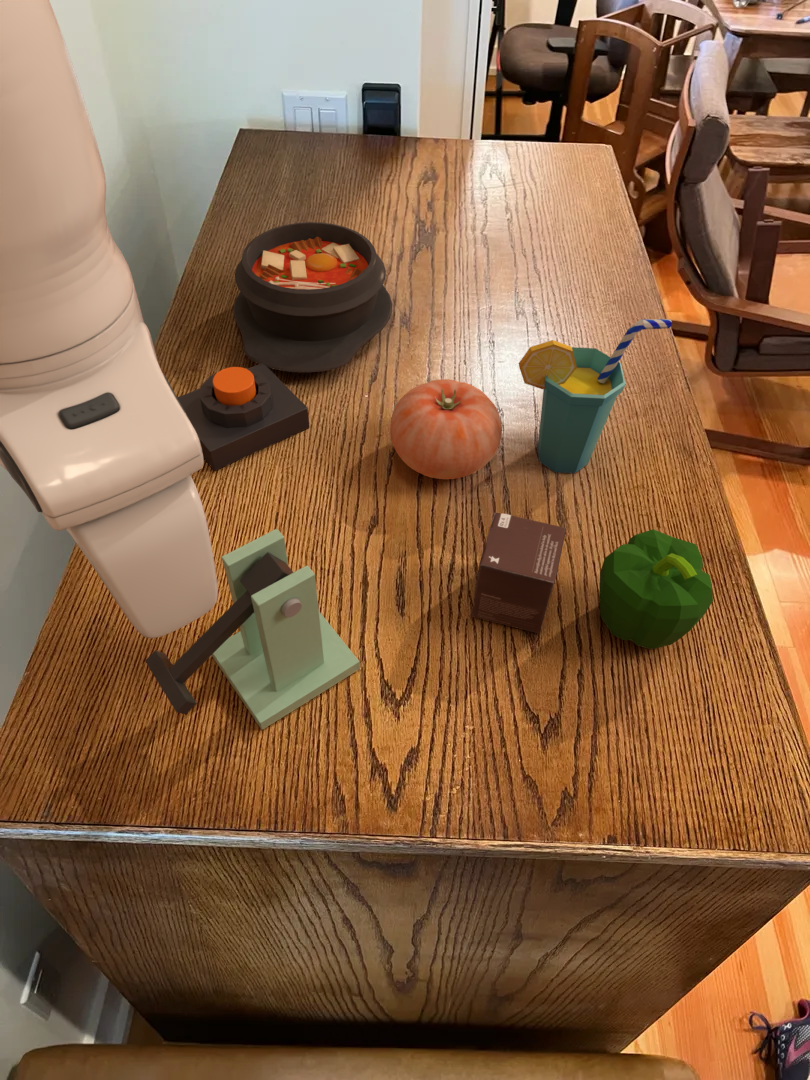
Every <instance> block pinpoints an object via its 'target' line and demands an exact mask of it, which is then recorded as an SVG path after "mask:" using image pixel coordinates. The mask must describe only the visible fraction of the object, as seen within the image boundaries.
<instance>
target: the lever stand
mask: <svg viewBox="0 0 810 1080" xmlns="http://www.w3.org/2000/svg"><path fill="white" fill-rule="evenodd" d="M285 541H286V540H285V536H284V535H283V534H282V532H281V531H280V530H279V529H278V528H275V529H273V530H271V531H269V532H267V533H265V534H263V535H261V536H259V537H257V538H255V539H253V540H251V541H250V542H248V543H246V544H244V545H241V546H239V547H237V548H236V549H234V550H232V551H230V552H227V553H226V554H224V555H221V561H222V565H223V569H224V573H225V577H226V580H227V585H228V588H229V592H230V596H231V601H232V605H233V604H234V603H235V602H236V601H237V600H238V599H239V598H240V597H241V596H242V595H243V594H244V593H245V592H246V591H247V589H246V588H245V587H244V585H243V584H242V583H241V581H240V579H241V578H242V577H243V576H244V575H245V574H246V573H247V572H248V571H249V570H250V569H251V568H252V567H253V566H254V565H255V564H256V563H257V562H258V561H259V560H260V559H261V558H262V557H263V556H264V555H265V554H266V553H267V552H269V553H271V554H272V555H274V556H276V557H277V558H279V559H281V560H282V561H284V562H286V564H287V565H288V566H289V562H288V561H289V560H288V553H287V548H286V542H285ZM293 572H294V573H292V574H290V575H288V576H286V577H285V578H283V579H281V580H279V581H277V582H275V583H273V584H272V585H270V586H268V587H266V588H264V589H262V590H261V591H259V592H257V593H255V594H253V595H251V599H252V604H253V608H254V613H253V614H252V615H251V616H250V617H249V618H248V619H247V620H246V621H245V622H244V623H243V624H242V625H241V626H240V627H239V628H238V629H239V631H238V632H236V633H234V634H232V635H231V636H230V637H229V638H228V639H227V640H226V641H225V642H224V643H223V644H222V645H221V646H220V647H219V648H218V649H217V650H216V651H215V652H214V653H213V654H212V655H211V657H212V658H213V660H214V661H215V664H216V665H217V666H218V668H219V669H220V671H221V672H222V673H223V675H224V677H225V678H226V680H227V681H228V682H229V684H230V685H231V687H232V688H233V690H234V692H235V693H236V694H237V696H238V697H239V698H240V700H241V701H242V703H243V705H244V706H245V708H246V709H247V710H248V712H249V714H250V715H251V716H252V718H253V720H254V721H255V722H256V723H257V725H258V727H259V729H260V730H261V731H264V730H265V729H267V728H268V727H269V726H272V725H273V724H274V723H276V722H278V721H279V720H281V719H282V718H284V717H286V716H287V715H289V714H291V713H292V712H294V711H295V710H297V709H298V708H300V707H302V706H303V705H305V704H306V703H308V702H309V701H311V700H313V699H314V698H316V697H318V696H319V695H320V694H322V693H324V692H326V691H327V690H329V689H330V688H332V687H333V686H335V685H336V684H338V683H340V682H341V681H343V680H345V679H346V678H348V677H350V676H352V675H353V674H354V673H356V672H358V671H359V670H361V663H360V660H359V659H358V658H357V657H356V655H355V654H354V653H353V651H352V650H351V649H350V648H349V646H348V645H347V644H346V643H345V641H344V640H343V639H342V638H341V637H340V635H339V634H338V633H337V632H336V630H335V629H334V628H333V627H332V625H331V624H330V622H328V620H327V619H326V618H325V617H324V615H323V614H322V613H321V612H320V609H319V600H318V589H317V581H316V574H315V572H314V571H313V570H312V569H311V567H310V566H309V565H304V566H303V567H301V568H299V569H297V570H295V571H293Z"/></svg>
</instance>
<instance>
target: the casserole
mask: <svg viewBox="0 0 810 1080" xmlns="http://www.w3.org/2000/svg"><path fill="white" fill-rule="evenodd" d="M386 274H387V269H386V267H385V263H384V260H382V258H381V257H380V255H379V254H377V251H376V248H375V246H374V245H373V243H372V242H371V241H370V240H369V239H368V238H367V237H366V236H365V235H364V234H361V233H359V232H358V231H356V230H354V229H352V228H349V227H347V226H343V225H339V224H336V223H328V222H318V221H317V222H315V221H305V222H304V221H303V222H295V223H289V224H284V225H280V226H276V227H273V228H270V229H268V230H266V231H263V232H262V233H260V234H258V235H257V236H255V237H254V238H253V239H251V240H250V241H249V242H248V244H247V245H246V246H245V248H244V249H243V251H242V255H241V259H240V261H239V262H238V264H237V266H236V269H235V272H234V280H235V285H236V286H237V289H238V291H239V293H238V294H237V296H236V298H235V300H234V304H233V307H232V309H233V318H234V320H235V322H236V325H237V327H238V329H239V331H240V334H241V338H242V346H243V347H242V348H243V353H244V355H245V356H246V357H247V358H248V359H249V360H250V361H251V362H254V363H256V364H257V365H258V364H261V363H264V364H265V365H266V366H267V367H268V368H269V369H272V370H276V371H283V372H289V373H319V372H326V371H327V372H328V371H331V370H336V369H339V368H341V367H343V366H344V365H347V364H349V363H350V361H351V360H352V359H353V358H354V357H355V355H356V354H357V353H358V352H359V351H360V349H361V348H362V347H363V346H364V345H365V344H366V343H368V342H369V341H370V340H371V339H373V338H374V337H375V336H376V335H378V334H379V333H380V332H382V331H383V329H384V328H385V327H386V325H387V324H389V321H390V319H391V316H392V314H393V301H392V298H391V295H390V293H389V291H388V290H387V289H386V287H385V286H384V283H385V281H386V276H387V275H386Z"/></svg>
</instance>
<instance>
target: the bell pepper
mask: <svg viewBox="0 0 810 1080" xmlns="http://www.w3.org/2000/svg"><path fill="white" fill-rule="evenodd" d="M703 567H704V561H703V556H702V554H701V552H700V550H699V548H698V545H697V544H696V543H693V542H690V541H687V540H684V539H681V538H677V537H673V536H671V535H668V534H666V533H664V532H661V531H659V530H656V529H654V528H653V529H652V528H651V529H649V530H646V531H643V532H640V533H637V534H634V535H633V536H632V537H630V538H629V539H628V542H627V543H622V544H621V545H620V546H618V547H617V548H615V549H614V550H613V551H612V552H611V553H609V554H608V555H606V556H605V557H604V559H603V562H602V564H601V568H600V570H599V571H600V572H599V613H600V614H599V615H600V619H601V620H602V621H603V623H604V624H605V626H606V627H607V629H608V630H609V632H610V633H611V635H612V636H614V637H616V638H619V639H620V640H623V641H624V642H627V641H632V642H633V643H634V644H635V646H638V647H641V648H645V649H647V650H655V649H659V648H663V647H667V646H671V645H673V644H674V643H676V642H677V641H679V640H680V639H682V638H683V637H684V636H685V635H687V634H688V633H689V632H691V630H692V629H693V628H694V627H695V626H696V625H697V624H698V623H699V621H701V619H702V618H703V617H704V616H705V615H706V613H707V611H708V609H709V608H710V606H711V605H712V603H713V601H714V596H713V585H712V579H711V575H710V574H709V573H708V572H705V571H703Z"/></svg>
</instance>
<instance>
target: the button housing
mask: <svg viewBox="0 0 810 1080" xmlns="http://www.w3.org/2000/svg"><path fill="white" fill-rule="evenodd" d="M246 369H247V370H249V371H250V372H251V373H252V374H253V376H254V381H255V387H256V395H255V397H254V398H253V399H252V400H251V401H249V402H247V403H245V404H242V405H233V406H227V405H224V404H222V403H220V402H219V401H218V400H217V399H216V396H215V391H214V386H213V378H214V376H215V375H216V374H217V373H214V374H212V375H209V377H208V378H207V379H206V380H205V381H204V382H203V383H202V384H201V385H200V387H199V388H196V389H195V390H192V391H190V392H187V393H184V394H182V395H180V396H178V397H177V396H176V397H177V398H178V400H179V402H180V403H181V405H182V407H183V408H184V410H185V412H186V414H187V415H188V417H189V420H190V422H191V424H192V425H193V427H194V429H195V431H196V433H197V435H198V438H199V441H200V444H201V448H202V453H203V459H204V461H205V462H207V464H208V465H209V466H210V467H211V469H212V470H213V471H214V472H216V471H218V470H220V469H222V468H225V467H227V466H229V465H231V464H233V463H236V462H238V461H240V460H242V459H244V458H246V457H248V456H251V455H253V454H255V453H257V452H259V451H262V450H263V449H266V448H268V447H271V446H272V445H275V444H277V443H279V442H281V441H284V440H286V439H288V438H290V437H292V436H294V435H296V434H299V433H301V432H303V431H305V430H309V428H310V418H309V408H308V406H307V405H306V404H305V403H303V401H302V400H301V399H300V398H299V397H297V395H296V394H295V393H294V392H293V391H292V390H291V389H290V388H289V387H288V386H287V385H286V384H285V383H284V382H283V381H282V380H281V379H280V378H279V377H278V376H277V375H276V374H275V373H274V371H272V370H271V368H269V367H267V366H266V365H265V364H264V363H261V364H258V363H257V364H256V365H254V366H251V367H249V368H246Z"/></svg>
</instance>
